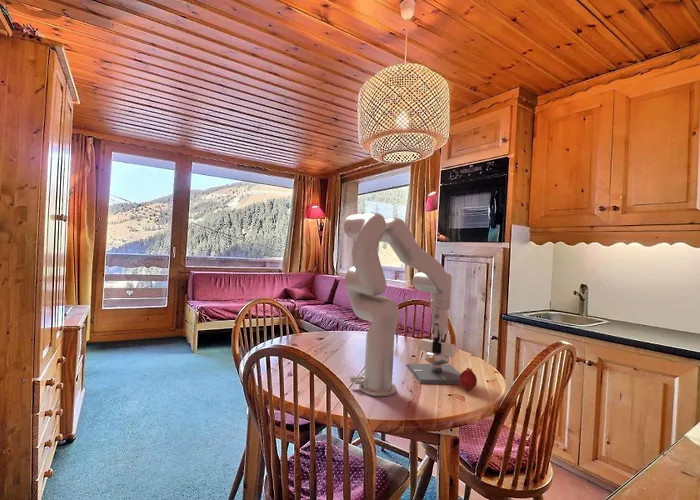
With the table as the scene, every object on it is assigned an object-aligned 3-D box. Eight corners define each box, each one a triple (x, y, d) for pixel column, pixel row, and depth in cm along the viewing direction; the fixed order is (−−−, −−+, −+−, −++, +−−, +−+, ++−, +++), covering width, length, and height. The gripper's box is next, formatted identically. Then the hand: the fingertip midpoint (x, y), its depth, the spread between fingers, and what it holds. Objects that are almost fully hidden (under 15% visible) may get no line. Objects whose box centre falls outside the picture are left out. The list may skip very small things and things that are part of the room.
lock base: (420, 383, 129) (421, 368, 129) (407, 367, 147) (408, 353, 147) (468, 384, 131) (469, 369, 131) (449, 367, 149) (450, 354, 149)
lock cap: (446, 368, 130) (447, 349, 130) (414, 360, 137) (414, 342, 137) (457, 361, 139) (458, 343, 139) (426, 354, 146) (426, 337, 147)
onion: (462, 386, 129) (463, 363, 129) (478, 390, 125) (479, 367, 125) (456, 390, 124) (457, 367, 124) (472, 395, 121) (473, 371, 121)
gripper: (446, 308, 130) (443, 358, 130) (453, 303, 145) (451, 348, 145) (425, 305, 133) (423, 355, 133) (434, 301, 148) (432, 345, 148)
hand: (437, 351), depth 139 cm, fingers closed on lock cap, 3 cm apart
